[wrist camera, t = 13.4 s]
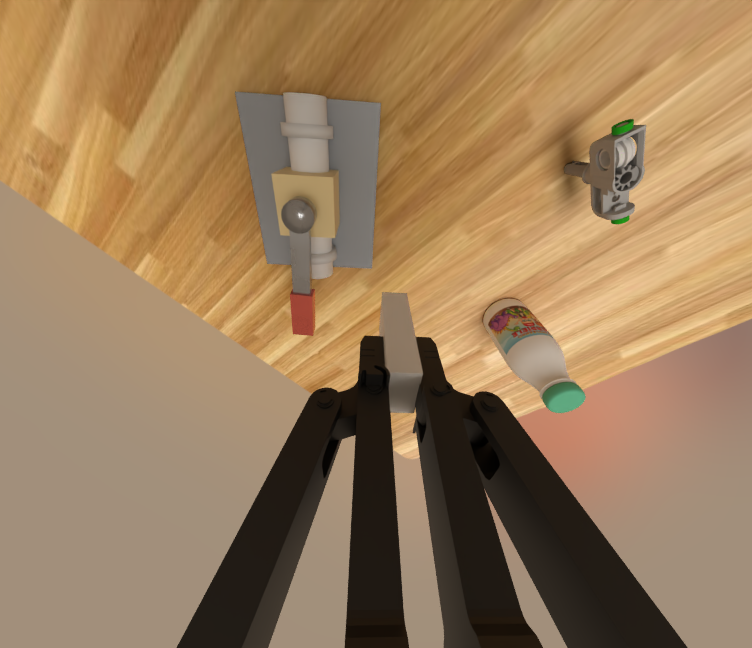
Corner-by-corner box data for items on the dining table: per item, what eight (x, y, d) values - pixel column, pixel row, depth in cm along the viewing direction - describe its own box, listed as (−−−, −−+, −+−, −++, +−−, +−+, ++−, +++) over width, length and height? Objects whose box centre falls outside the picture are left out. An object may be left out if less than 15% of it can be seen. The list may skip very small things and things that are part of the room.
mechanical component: (561, 208, 39) (612, 229, 31) (554, 132, 34) (613, 132, 26) (583, 198, 38) (641, 216, 30) (579, 118, 33) (648, 114, 25)
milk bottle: (525, 324, 51) (596, 413, 35) (484, 335, 53) (535, 426, 37) (523, 291, 47) (605, 375, 31) (479, 304, 49) (535, 391, 32)
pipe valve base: (241, 93, 31) (192, 79, 22) (380, 104, 32) (384, 94, 23) (271, 258, 43) (246, 291, 34) (371, 263, 43) (372, 296, 35)
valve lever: (285, 194, 27) (279, 198, 26) (317, 198, 27) (313, 202, 26) (293, 325, 37) (290, 334, 35) (317, 327, 37) (315, 336, 35)
